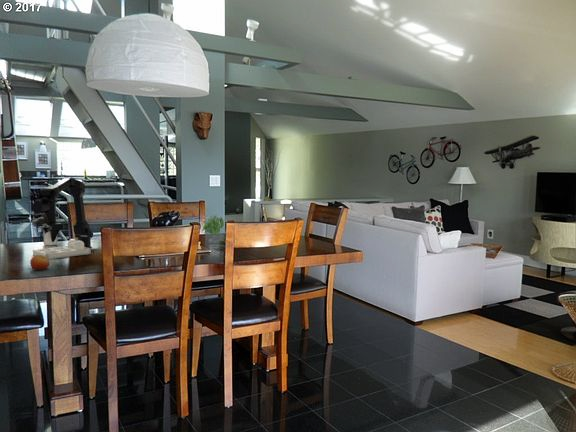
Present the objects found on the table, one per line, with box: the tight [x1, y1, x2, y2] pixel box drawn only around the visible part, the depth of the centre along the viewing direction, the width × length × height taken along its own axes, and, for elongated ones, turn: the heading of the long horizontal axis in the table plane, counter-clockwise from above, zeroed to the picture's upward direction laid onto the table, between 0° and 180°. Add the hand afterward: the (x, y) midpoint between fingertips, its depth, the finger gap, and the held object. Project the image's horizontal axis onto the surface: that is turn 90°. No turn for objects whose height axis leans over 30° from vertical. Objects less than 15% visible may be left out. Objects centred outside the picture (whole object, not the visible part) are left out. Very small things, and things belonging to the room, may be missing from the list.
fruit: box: [30, 255, 51, 272], centre depth 213 cm, size 8×8×8 cm
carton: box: [32, 238, 92, 260], centre depth 250 cm, size 24×16×8 cm
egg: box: [44, 232, 57, 246], centre depth 241 cm, size 5×5×7 cm
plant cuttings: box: [201, 214, 226, 244], centre depth 300 cm, size 35×17×22 cm
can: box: [42, 230, 59, 247], centre depth 279 cm, size 8×8×12 cm
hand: (50, 241), depth 241 cm, fingers closed on egg, 5 cm apart
